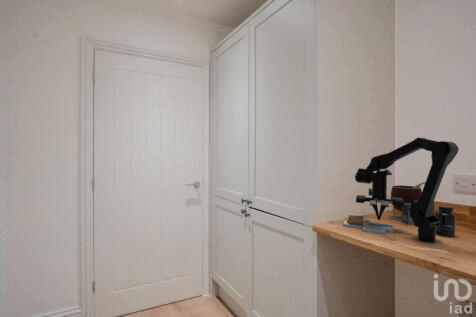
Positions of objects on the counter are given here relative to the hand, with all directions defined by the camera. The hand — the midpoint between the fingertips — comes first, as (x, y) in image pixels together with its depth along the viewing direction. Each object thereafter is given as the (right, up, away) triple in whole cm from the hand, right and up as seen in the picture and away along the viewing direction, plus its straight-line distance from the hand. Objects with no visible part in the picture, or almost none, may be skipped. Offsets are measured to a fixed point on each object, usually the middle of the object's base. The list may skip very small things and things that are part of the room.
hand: (378, 219), depth 120 cm
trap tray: (-3, -5, +2) cm, 6 cm away
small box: (+22, -5, +9) cm, 25 cm away
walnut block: (-8, -4, +4) cm, 10 cm away
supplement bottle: (+25, -5, -6) cm, 26 cm away
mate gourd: (+26, -5, +21) cm, 33 cm away
